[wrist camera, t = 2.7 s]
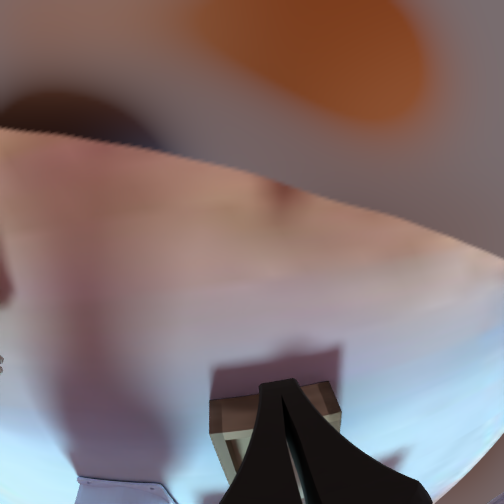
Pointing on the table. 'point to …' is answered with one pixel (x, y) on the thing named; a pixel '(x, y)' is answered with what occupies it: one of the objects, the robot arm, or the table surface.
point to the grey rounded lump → (0, 361)
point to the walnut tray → (243, 419)
